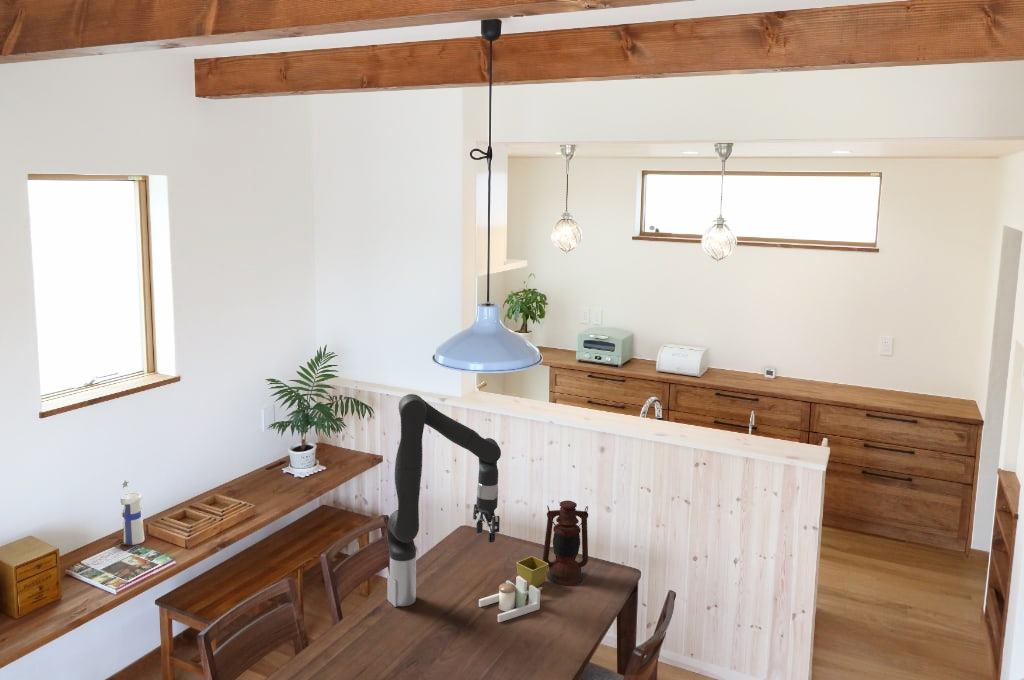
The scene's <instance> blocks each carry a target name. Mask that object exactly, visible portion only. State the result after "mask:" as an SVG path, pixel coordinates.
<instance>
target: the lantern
mask: <svg viewBox="0 0 1024 680" xmlns="http://www.w3.org/2000/svg"><path fill="white" fill-rule="evenodd" d="M577 505H578V504H577V503H576V502H575V501H572V500H562V501H560V502H559V509H556V510H554V509H553V510H550V506H549V505H547V506H546V507H547V513H546V516H547V519H546V522H547V523H546V530H545V536H544V546H543V553H542V561H544V562H546V563H548V564H549V565H548V570H547V575H546V578H547V580H548V581H550V582H551V583H553V584H555V585H559V586H565V587H566V586H569V587H570V586H575V585H578V584H579V583H581V582H583V579H584V576H583V573H582V568H584V567H585V566H586V565H588V562H589V547H588V546H589V544H588V542H589V541H588V540H589V539H588V536H589V535H588V518H589V513H588V510H589V506H588V505H586V506H585V508H584V510H577V509H576V508H577ZM577 517H579V518H580V519H581V522H580V524H579V519H578V518H577ZM555 518H556V519H555ZM554 519H555V521H556V523H555V522H554ZM552 532H553V533H554V534H553V533H552ZM552 534H553V538H552ZM580 534H581V535H580ZM551 539H552V540H551ZM551 542H552V548H553V554H554V557H555V559H553V560H552V561H550V559H549V557H550V549H551ZM580 547H581V550H582V554H581V555H582V556H581V557H582V559H581V561H580V562H579V561H577V556H578V555H579V552H580Z"/></svg>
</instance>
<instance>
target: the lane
mask: <svg viewBox="0 0 1024 680" xmlns="http://www.w3.org/2000/svg"><path fill="white" fill-rule="evenodd" d="M515 577H516V578H515V585H516V586H517V587H519V588H520V589H521V590H523V591H524V592H526V591H529V594H527V595H528V604H525V606H522V607H519V608H516V607H515V609H513V610H510V611H507V612H506V611H503V612H501V613H498V614H497V622H498V623H502V622H504V621H508V620H510V619H513V618H517V617H519V616H523V615H526V614H528V613H532V612H535V611H538V610H541V609H540V605H541V603H540V602H541V590H538V589H537V588H538V587H534V586H533V585H530V586H529V588H528V587H527V581H526V580H524V579H523V578H521V577H520V576H518V575H517V576H515ZM527 589H528V590H527ZM527 595H525V601H526V600H527ZM494 603H499V592H498V593H495V594H492V595H488V596H486V597H483V598H479V599H478V607H479V608H481V607H486V606H488V605H491V604H494Z"/></svg>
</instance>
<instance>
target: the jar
mask: <svg viewBox="0 0 1024 680" xmlns="http://www.w3.org/2000/svg"><path fill="white" fill-rule="evenodd" d="M513 584H514V583H513ZM513 584H511V583H506V582H505V583H501V584H500V585H499V586H498V593H499V601H498V609H499V610H500V611H502V612H507V611H510V610H513V609H516V607H515V590H516V587H515V585H516V584H514V585H513Z"/></svg>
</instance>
